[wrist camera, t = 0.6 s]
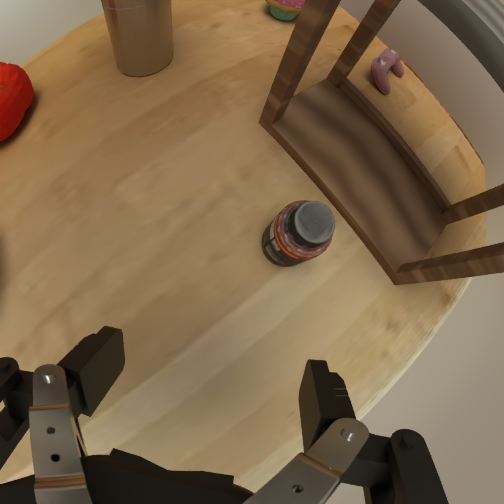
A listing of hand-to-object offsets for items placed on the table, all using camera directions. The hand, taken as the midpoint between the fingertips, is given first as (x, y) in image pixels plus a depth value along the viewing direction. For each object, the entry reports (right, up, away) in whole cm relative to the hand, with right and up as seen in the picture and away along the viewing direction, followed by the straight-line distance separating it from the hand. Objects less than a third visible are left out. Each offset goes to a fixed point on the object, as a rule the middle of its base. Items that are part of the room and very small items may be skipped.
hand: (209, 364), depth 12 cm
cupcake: (+8, +51, +33) cm, 61 cm away
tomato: (-39, +27, +22) cm, 52 cm away
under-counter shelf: (+18, +16, +30) cm, 39 cm away
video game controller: (+26, +38, +34) cm, 57 cm away
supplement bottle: (+6, +6, +26) cm, 27 cm away
